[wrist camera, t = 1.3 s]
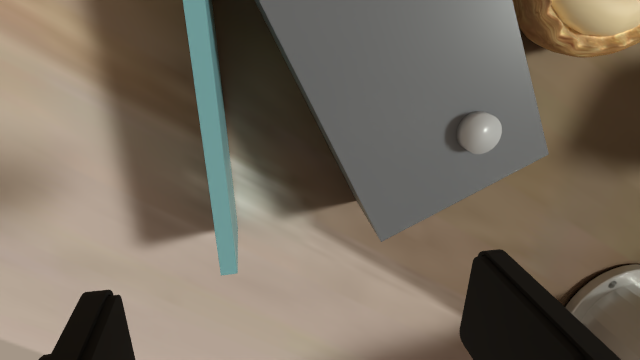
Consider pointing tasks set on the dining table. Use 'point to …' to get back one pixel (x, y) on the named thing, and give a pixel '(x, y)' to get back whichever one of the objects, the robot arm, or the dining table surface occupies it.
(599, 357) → the robot arm
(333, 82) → the camera body
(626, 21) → the pastry
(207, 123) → the side door
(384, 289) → the dining table surface
